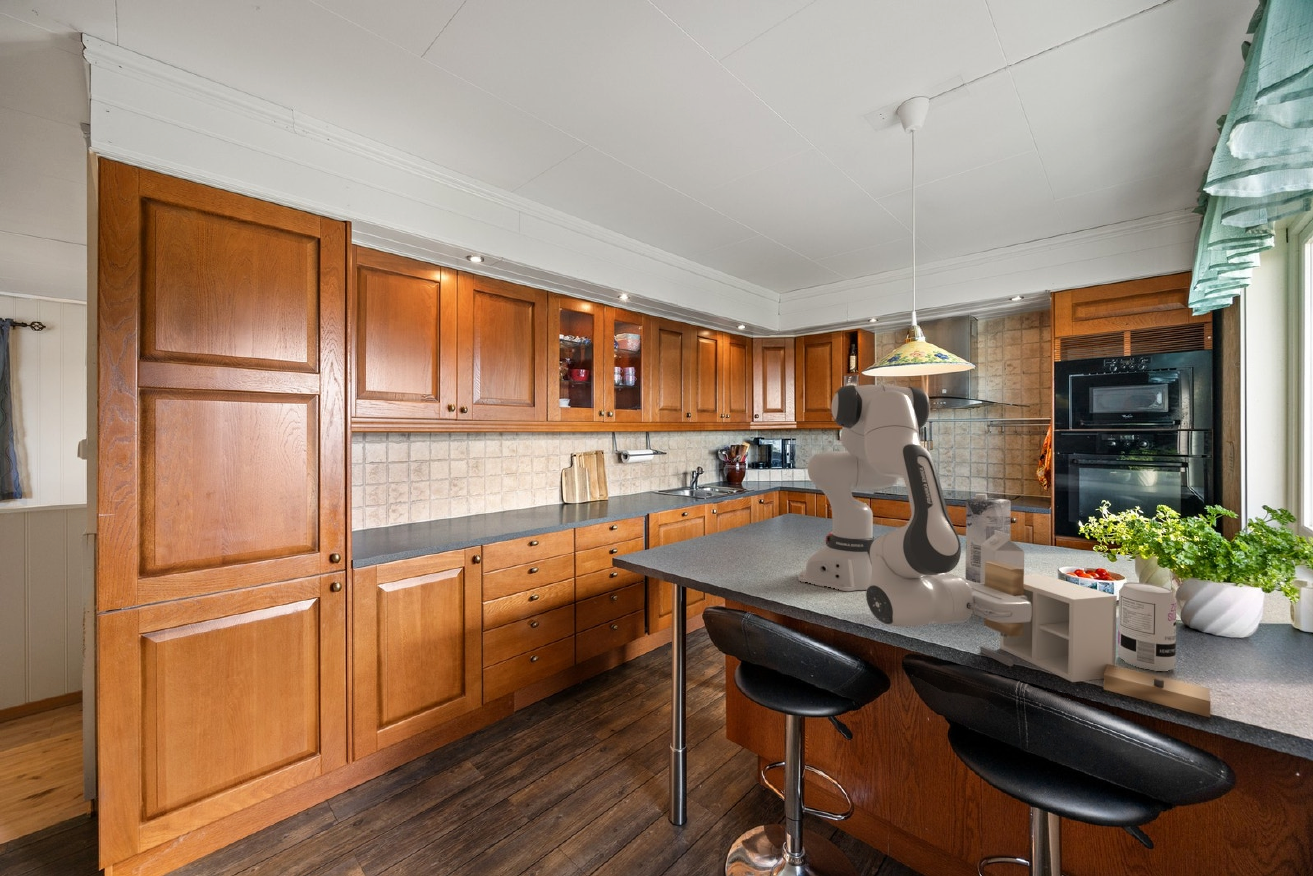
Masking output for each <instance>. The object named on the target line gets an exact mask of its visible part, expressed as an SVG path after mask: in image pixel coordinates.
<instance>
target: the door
mask: <svg viewBox="0 0 1313 876" xmlns="http://www.w3.org/2000/svg"><path fill="white" fill-rule="evenodd" d="M1103 690H1104V691H1105V690H1106V691H1107V692H1108V691H1109V692H1113V693H1117V694H1121V695H1123V696H1128V697H1132V698H1135V699H1139V700H1143V701H1146V702H1150V703H1153V704H1157V705H1160V706H1165V707H1168V708H1173V709H1177V710H1181V711H1184V712H1188V713H1191V714H1195V715H1199V716H1202V717H1207V718H1211V694H1210V688H1209V687H1205V686H1203V685H1202V686H1201V685H1196V684H1193V683H1189V682H1185V681H1181V680H1176V679H1172V678H1167V677H1164V676H1159V675H1156V674H1155V675H1154V674H1151V673H1147V672H1142V671H1139V670H1135V669H1130V668H1126V667H1121V666H1118V665H1115V666H1114V665H1110V664H1107V666H1106V669H1105V673H1104V678H1103Z"/></svg>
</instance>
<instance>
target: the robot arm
mask: <svg viewBox="0 0 1313 876" xmlns="http://www.w3.org/2000/svg"><path fill="white" fill-rule="evenodd" d="M830 408H831V414H832V417H833V421H834V423H836V425H837V426H839V427H842V429H841V432H840V443H841V445H842V447H844V449H845V450H846V451H843V450H841V451H839V450H838V451H835V450H833V451H832V450H831V451H830V450H829V451H825V452H819V453H815V454H813V456H812V457H811V459H810V460H809V461H808V465H807V474H808V477H809V479H810V481H811V482H812V484H813V485H815V487H817V488H818V489H819V490H821V492H823V494H824V495H825V496H826V498H827V500H828V502H829V504H830V508H831V514H832V515H831V517H832V531H831V532H829V533H828V534H826V536H825V541H824V542H825V546H824V547H822V548H821V549H819V550H818V551H816V552H815V553H813V554H812V555H811V556H810V557H809V558H808V559H807V562H806V565H805V569H804V570H802V571H800V572H799V573H798V575H797V581H799V582H800V581H801V583H805V582H808V583H807V584H809V583H811V585H814V584H815V585H816V586H820V587H824V586H827V587H826V588H828V587H831V588H830V589H833V588H835V589H834V590H838V589H839V590H838V591H843V592H852V591H865V596H866V597H865V598H866V603H867V606H868V608H869V610H870V612H871V613H872V615H873V616H874V617H875V618H876V620H878V621H879V622H880V623H882V624H884V625H888V626H891V627H902V628H903V627H905V628H906V627H910V628H911V627H922V626H926V625H929V624H931V623H933V624H938V625H942V624H953V623H962V622H966V621H968V620H969V619H970V618H971V617H972V615H973V614H975V615H977V616H980V617H982V618H983V619H984V618H986V619H988V620H991V621H994V622H1000V623H1025V622H1029V621H1030V620H1031V617H1032V605H1031V603H1030V602H1029V601H1027V600H1028V598H1027V596H1024V595H1021V594H1014V595H1013V596H1012V595H1009V594H1007V593H1004V592H1001V591H998V590H995V589H992V588H989V587H987V586H985V583H976V582H972V581H969V580H967V579H966V578H965V577H964V578H963V577H960V576H958V575H955V574H952V573H949V572H951V571H953V570H955V568H956V567H957V565H959V562H960V559H961V553H962V544H961V541H960V538H959V535H958V533H957V531H956V529H955V526H954V524H953V522H952V520H951V517H950V515H949V511H948V508H947V505H946V501H945V496H944V492H943V489H942V485H941V481H940V478H939V474H938V470H937V467H936V463H935V461H934V459H933V456H932V455H931V453H930V452H929V451H928V449H927V448H925V447H924V446H922V442H921V439H920V429H921V428H922V427H923V426H925V425H926V424H927V422H928V418H929V416H930V412H931V404H930V398H929V396H928V394H927V393H926V391H925V390H923V389H921V388H919V387H913V386H908V387H905V386H900V385H899V386H898V385H892V384H891V385H889V384H880V385H879V384H866V385H854V384H852V385H844V386H841V387H839V388H838V389H837V390H836V391H835V393H834V396H833V398H832V401H831V407H830ZM901 478H903V480H904V484H905V487H906V492H907V496H908V502H909V506H910V507H909V508H910V511H911V516H910V518H909V520H908V522H907V523H906V524H905V525H904V526H900V527H899V528H896V529H893V530H891V531H889V532H886V533H884V534H882V535H879V536H877V537H876V538H875V537H874V536H873V533H874V532H873V529H874V527H873V525H874V523H873V522H874V519H873V518H874V517H873V516H874V514H873V510H872V508H871V507H870V506H869V505H867V504H866V503H864V502H862V500H859V499H856V498H855V497H854V496H853V494H852V493H853V492H852V490H857V489H858V490H880V489H885V488H890V487H893V486H894V485H896V484H897V482H898V481H899V479H901Z"/></svg>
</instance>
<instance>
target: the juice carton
mask: <svg viewBox="0 0 1313 876" xmlns="http://www.w3.org/2000/svg"><path fill="white" fill-rule="evenodd" d="M1011 504H1012V501H1011V500H1009V499H1004V498H996V497H989V496H988V494H987V493H976V494H975V498H966V499H965V506H966V507H965V508H966V513H965V515H966V516H965V519H966V521H965V571H964V572H965V573H964V574H965V579H967V580H969V581H972V582H976V583H980V570H981V544H982V543H984V542H985V541H986V540H988V539H989V538H990V537H991V536H993V535H994V534H995V530H997V531H1000V532H1002V533H1005V534H1008V535H1010V536H1011V507H1012V505H1011Z"/></svg>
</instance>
